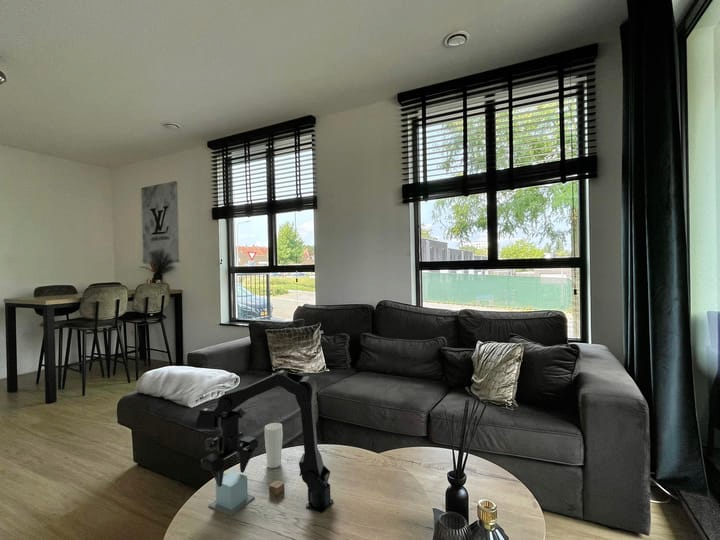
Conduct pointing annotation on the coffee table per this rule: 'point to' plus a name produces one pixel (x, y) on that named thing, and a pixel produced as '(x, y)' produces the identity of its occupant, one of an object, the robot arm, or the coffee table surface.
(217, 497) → the pale blue cube
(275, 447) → the white tall cylinder
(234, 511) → the gray square plate
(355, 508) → the coffee table surface
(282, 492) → the walnut block
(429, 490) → the coffee table surface
